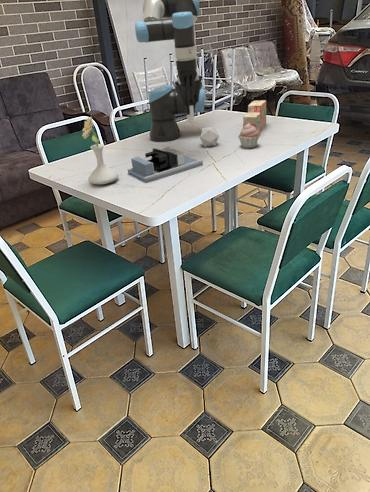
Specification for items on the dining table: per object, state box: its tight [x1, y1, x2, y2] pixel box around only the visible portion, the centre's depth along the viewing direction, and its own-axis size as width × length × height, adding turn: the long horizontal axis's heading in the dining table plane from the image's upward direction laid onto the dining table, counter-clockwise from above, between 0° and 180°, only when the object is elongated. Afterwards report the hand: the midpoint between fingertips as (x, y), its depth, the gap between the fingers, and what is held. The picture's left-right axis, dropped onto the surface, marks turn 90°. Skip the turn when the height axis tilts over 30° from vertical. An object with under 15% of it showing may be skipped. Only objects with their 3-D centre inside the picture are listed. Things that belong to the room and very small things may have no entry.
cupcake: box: [238, 123, 261, 149], centre depth 182 cm, size 9×9×10 cm
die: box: [199, 126, 220, 148], centre depth 189 cm, size 8×9×10 cm
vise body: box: [127, 154, 204, 184], centre depth 166 cm, size 14×26×6 cm, turn 124°
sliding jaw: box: [161, 146, 185, 167], centre depth 168 cm, size 11×6×5 cm, turn 34°
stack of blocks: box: [242, 99, 267, 134], centre depth 202 cm, size 21×6×12 cm, turn 159°
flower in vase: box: [82, 116, 119, 186], centre depth 155 cm, size 13×11×25 cm
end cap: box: [144, 148, 175, 172], centre depth 164 cm, size 10×7×7 cm
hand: (190, 121), depth 172 cm, fingers closed
